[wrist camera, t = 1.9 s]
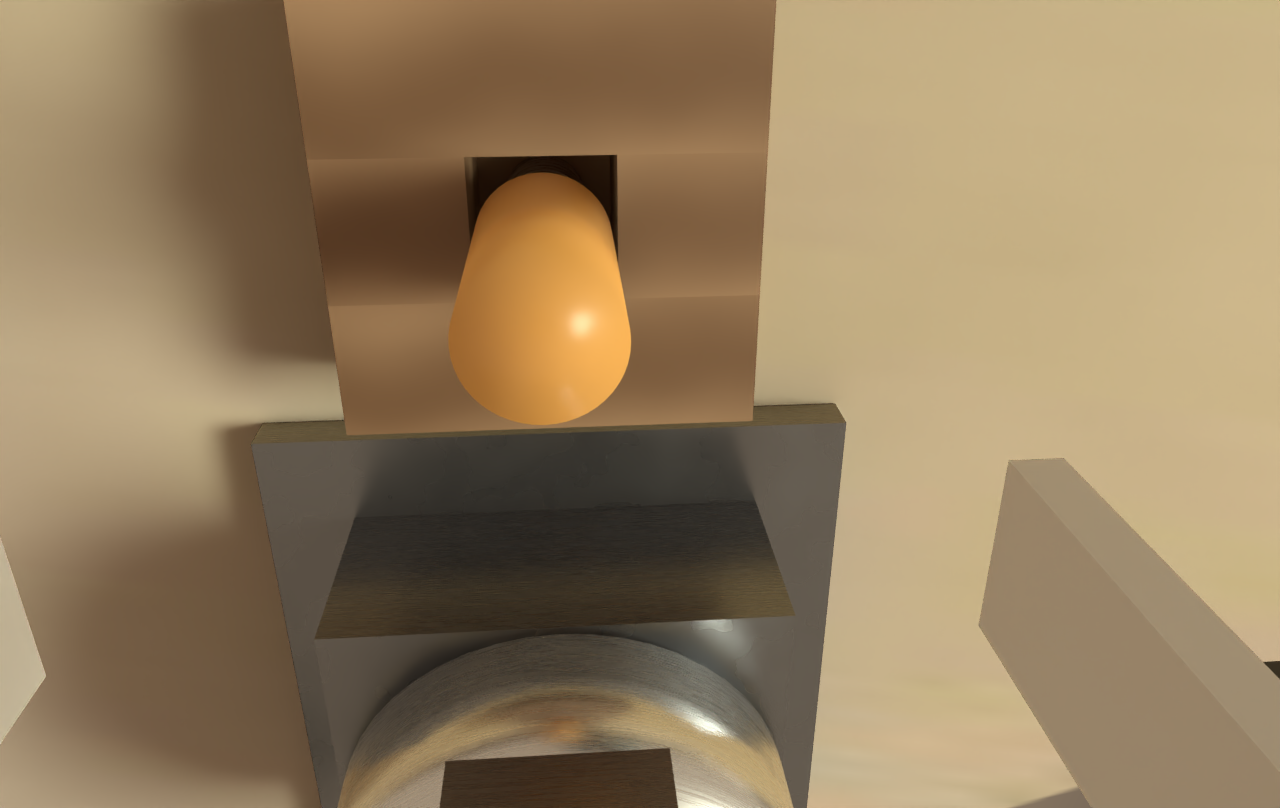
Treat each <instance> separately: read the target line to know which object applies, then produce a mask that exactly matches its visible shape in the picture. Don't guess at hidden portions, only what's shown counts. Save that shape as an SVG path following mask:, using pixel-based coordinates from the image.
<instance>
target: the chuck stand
mask: <svg viewBox="0 0 1280 808" xmlns="http://www.w3.org/2000/svg"><path fill="white" fill-rule="evenodd" d="M845 430H846V421H845V420H844V418H843V416H842V415H841V413H840V411H839V409H838V408H837V406H836V404H814V405H785V406H755V407H753V421H737V422H709V423H680V424H652V425H624V426H595V427H567V428H539V429H510V430H482V431H454V432H425V433H397V434H369V435H347V434H346V427H345V421H317V422H288V423H263V424H262V426H261V428H260V429H259V431H258V433H257V434H256V436H255V438H254V440H253V441H252V443H251V447H252V452H253V457H254V462H255V467H256V472H257V477H258V483H259V488H260V493H261V498H262V503H263V508H264V513H265V519H266V524H267V529H268V534H269V539H270V544H271V550H272V555H273V560H274V565H275V570H276V575H277V580H278V586H279V591H280V596H281V601H282V606H283V611H284V616H285V622H286V627H287V632H288V637H289V642H290V647H291V652H292V658H293V663H294V668H295V673H296V678H297V683H298V688H299V694H300V699H301V704H302V709H303V714H304V719H305V724H306V730H307V735H308V740H309V745H310V750H311V755H312V761H313V766H314V771H315V776H316V781H317V786H318V791H319V797H320V802H321V807H322V808H337V807H338V803H339V799H340V795H341V791H342V787H343V782H344V779H345V775H346V772H347V768H348V765H349V761H350V758H351V756H352V754H353V752H354V750H355V748H356V746H357V744H358V741H359V739H360V737H361V736H362V734H363V733H364V732H365V730H366V729H367V727H368V726H369V725H370V723H371V722H372V720H373V719H374V717H375V716H376V715H377V714H378V713H379V712H380V711H381V710H382V709H383V708H384V707H385V706H386V705H387V704H388V703H389V702H390V701H391V700H392V698H394V697H395V696H396V695H397V694H399V693H400V692H401V691H402V690H404V689H405V688H406V687H407V686H409V685H410V684H411V683H413V682H414V681H415V680H417V679H419V678H420V677H422V676H423V675H425V674H427V673H428V672H430V671H432V670H433V669H435V668H437V667H438V666H440V665H442V664H445V663H447V662H449V661H451V660H453V659H456V658H458V657H460V656H462V655H465V654H467V653H470V652H473V651H476V650H479V649H482V648H485V647H488V646H491V645H494V644H498V643H503V642H508V641H512V640H517V639H522V638H527V637H536V636H546V635H555V634H593V635H603V636H612V637H621V638H626V639H631V640H635V641H640V642H644V643H649V644H653V645H656V646H658V647H661V648H664V649H667V650H670V651H673V652H676V653H679V654H681V655H683V656H685V657H687V658H689V659H691V660H693V661H695V662H697V663H700V664H702V665H704V666H705V667H707V668H708V669H710V670H711V671H713V672H714V673H716V674H717V675H719V676H720V677H722V678H724V679H725V680H726V681H728V682H729V683H730V684H731V685H732V686H733V687H734V688H736V689H737V690H738V691H739V692H740V693H741V694H742V695H743V696H745V697H746V699H747V700H748V701H749V702H750V703H751V705H752V706H753V707H754V708H755V709H756V711H757V712H758V713H759V714H760V716H761V717H762V719H763V721H764V722H765V724H766V726H767V728H768V729H769V731H770V733H771V734H772V737H773V740H774V742H775V745H776V748H777V750H778V753H779V756H780V760H781V764H782V767H783V771H784V775H785V778H786V782H787V786H788V790H789V793H790V797H791V801H792V804H793V808H807V800H808V790H809V780H810V770H811V761H812V751H813V741H814V732H815V722H816V712H817V702H818V693H819V683H820V673H821V663H822V654H823V644H824V634H825V625H826V615H827V605H828V595H829V586H830V576H831V566H832V557H833V547H834V537H835V527H836V518H837V508H838V498H839V489H840V479H841V469H842V459H843V450H844V440H845Z"/></svg>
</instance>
